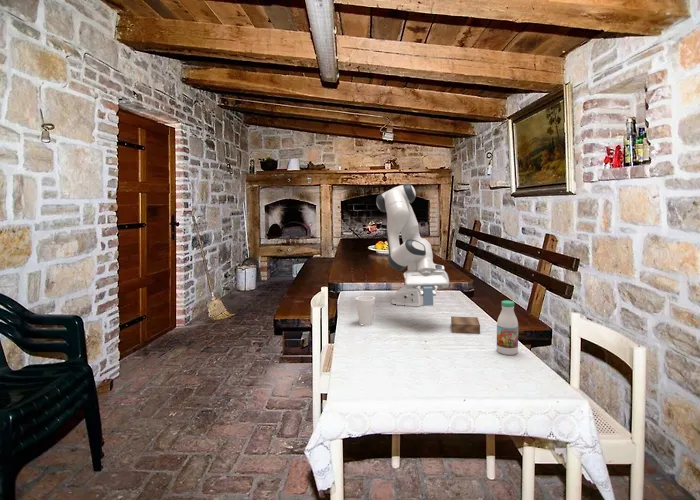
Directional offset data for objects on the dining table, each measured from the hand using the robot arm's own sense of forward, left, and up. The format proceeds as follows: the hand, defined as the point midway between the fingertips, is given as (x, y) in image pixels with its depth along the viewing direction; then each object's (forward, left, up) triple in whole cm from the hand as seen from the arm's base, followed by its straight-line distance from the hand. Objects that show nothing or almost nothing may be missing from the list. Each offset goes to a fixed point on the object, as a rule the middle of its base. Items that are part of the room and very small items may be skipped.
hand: (428, 295), depth 174 cm
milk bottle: (+31, -20, -17) cm, 40 cm away
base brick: (+17, +6, -17) cm, 24 cm away
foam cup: (-30, +8, -17) cm, 36 cm away
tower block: (0, +1, -4) cm, 4 cm away
